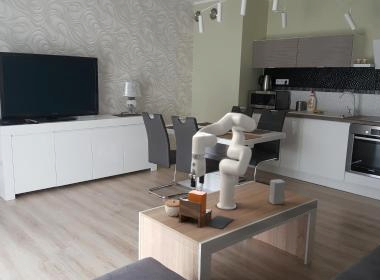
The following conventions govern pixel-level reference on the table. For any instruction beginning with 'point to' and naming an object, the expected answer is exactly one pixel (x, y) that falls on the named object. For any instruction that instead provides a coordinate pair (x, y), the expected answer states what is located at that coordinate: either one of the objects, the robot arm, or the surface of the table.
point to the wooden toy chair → (193, 212)
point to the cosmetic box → (277, 191)
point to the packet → (198, 198)
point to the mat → (219, 222)
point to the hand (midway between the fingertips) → (197, 185)
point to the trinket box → (172, 207)
